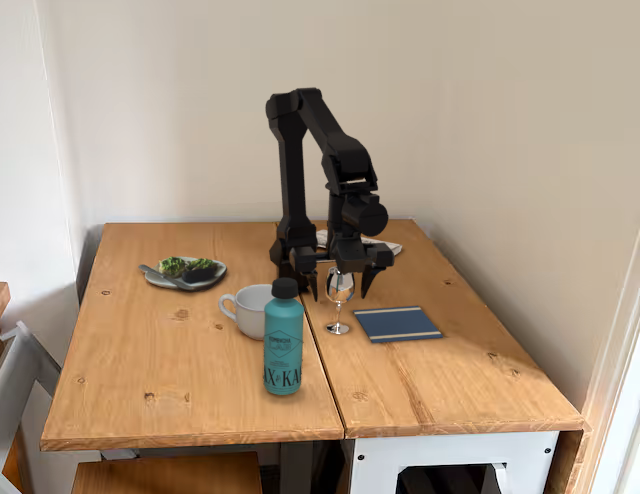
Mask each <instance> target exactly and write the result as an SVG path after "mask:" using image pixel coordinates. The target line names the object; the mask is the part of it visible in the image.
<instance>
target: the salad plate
mask: <svg viewBox="0 0 640 494" xmlns="http://www.w3.org/2000/svg"><path fill="white" fill-rule="evenodd" d="M137 266H138V269H139V271H142V272H144V273H145V274H144V278H145V280H147V282H148V283H150V284H152V285H155V286H157V287H160V288H164V289H169V290H175V291H179V292H185V293H200V292H205V291H207V290H208V291H209V290H210V289H213V288H214V287H215V286H217V284H219V283H220V282H221V281H222V280H223V279H224V278H225V276H226V274H227V272H228V267H227V265H226V264H225V263H224V262H222V261H220V260H215V259H209V258H205V257H204V258H203V257H199V258H195V257H190V256H181V255H180V256H169V257H166V258H164V259H162V260H161V259H158V263H157V264H156V265H155V266H153V267H150V266H148V265H146V264H139V265H137Z"/></svg>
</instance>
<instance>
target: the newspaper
mask: <svg viewBox="0 0 640 494" xmlns="http://www.w3.org/2000/svg"><path fill="white" fill-rule="evenodd" d="M327 230H328V229H320V230H318V231H316V237H317V240H318V247H321V248H325V249H326V242H327ZM361 240H362V243H385V244H386V245H387V246H388V247H389V248H390V249H391V250H392V251H393V252H394V256H396V255H398V254H399V253H400V252H402V248H403V244H401V243H400V244H399V243H395V242H389V241H384V240H378V239H374V238H370V237H363V236H361Z"/></svg>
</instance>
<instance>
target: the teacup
mask: <svg viewBox="0 0 640 494" xmlns="http://www.w3.org/2000/svg"><path fill="white" fill-rule="evenodd" d="M271 290H272V284H270V283H269V284H268V283H259V284H257V283H256V284H251V285H247V286H244V287H242V288H241V289H239V290H237V292H236V293H235V295H234V294H231V293H223V294H222V295H221V296H220V297H219V298H218V303H217V305H218V309H219V311H220V312H221V313H222V314H223V315H224V316H226V317H227V318H229V319H231V320H232V321H233V323H235V324H237V327H238V329H239V331H241V332H242V333H243V334H244V335H246V336H247V337H249V338H250V339H253V340H256V341H264V339H263V336H264V319H265V312H264V307H265V305H266V304H267V303H268V302H269V301H271V300H272V299H274V298H275V297H273V296H272V294H271ZM227 300H228V301H230V302H231V303H232V305H233V307H234V309H235V313H234V312H232V311H231V310H229V309H227V307H226V306H225V304H224V302H225V301H227Z"/></svg>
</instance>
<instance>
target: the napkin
mask: <svg viewBox="0 0 640 494" xmlns="http://www.w3.org/2000/svg"><path fill="white" fill-rule="evenodd" d="M352 313H353V315H354V317H355V318H356V319H357V321H358V323H359V324H360V326H361V327H362V329H363V331H364V332H365V334H366V335H367V337H368V339H369V340H370V341H371V344H380V343H389V342H390V343H391V342H404V341H417V340H429V339H442V338H444V336H443V334H442V333H441V332H440V330H439V329H438V328H437V327H436V326H435V324H434V323H433V322H432V321H431V320H430V318H429V317H428V316H427V315H426V313H424V311H423V310H422V308H421V307H420V306H419V305H408V306H394V307H393V306H392V307H380V308H367V309H366V308H365V309H353V310H352Z"/></svg>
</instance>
